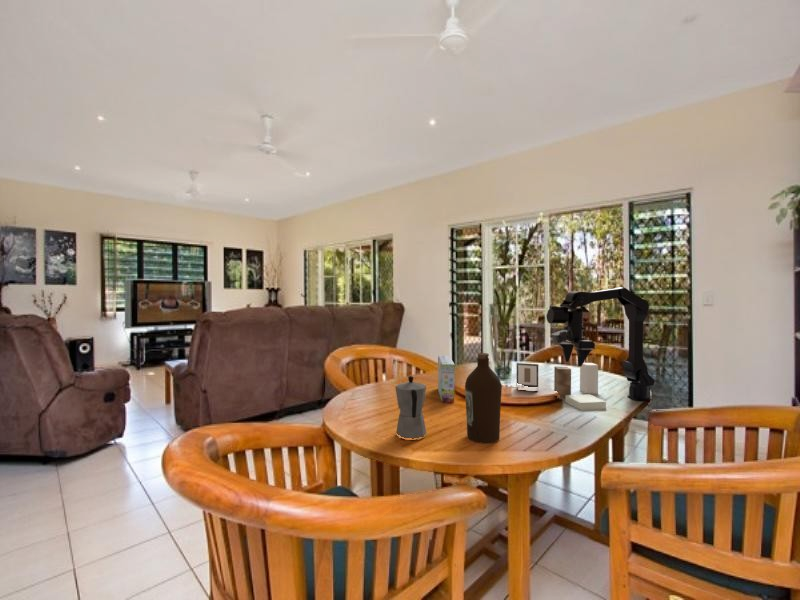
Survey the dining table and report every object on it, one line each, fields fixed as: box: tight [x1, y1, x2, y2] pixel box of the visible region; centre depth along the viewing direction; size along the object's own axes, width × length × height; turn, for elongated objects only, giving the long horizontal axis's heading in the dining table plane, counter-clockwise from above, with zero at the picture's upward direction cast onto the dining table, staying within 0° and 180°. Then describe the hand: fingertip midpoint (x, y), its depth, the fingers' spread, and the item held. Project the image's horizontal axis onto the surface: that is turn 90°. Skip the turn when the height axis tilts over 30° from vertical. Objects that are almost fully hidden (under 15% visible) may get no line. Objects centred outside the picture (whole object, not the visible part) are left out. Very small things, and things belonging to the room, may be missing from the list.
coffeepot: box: [394, 375, 427, 439], centre depth 116 cm, size 15×9×18 cm, turn 6°
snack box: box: [437, 355, 456, 403], centre depth 161 cm, size 21×6×15 cm, turn 179°
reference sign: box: [516, 362, 539, 388], centre depth 169 cm, size 6×9×11 cm, turn 71°
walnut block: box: [553, 365, 572, 400], centre depth 157 cm, size 5×5×12 cm
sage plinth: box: [565, 393, 607, 411], centre depth 146 cm, size 10×10×3 cm
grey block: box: [579, 362, 599, 395], centre depth 164 cm, size 5×5×12 cm
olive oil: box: [464, 352, 503, 444], centre depth 115 cm, size 11×11×25 cm
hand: (573, 363), depth 151 cm, fingers open, 9 cm apart
